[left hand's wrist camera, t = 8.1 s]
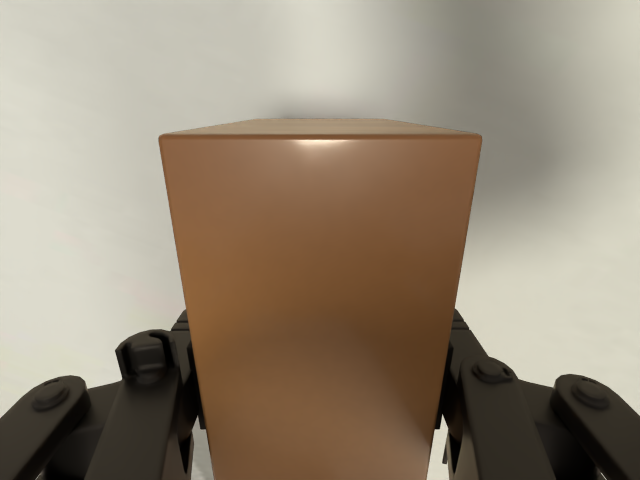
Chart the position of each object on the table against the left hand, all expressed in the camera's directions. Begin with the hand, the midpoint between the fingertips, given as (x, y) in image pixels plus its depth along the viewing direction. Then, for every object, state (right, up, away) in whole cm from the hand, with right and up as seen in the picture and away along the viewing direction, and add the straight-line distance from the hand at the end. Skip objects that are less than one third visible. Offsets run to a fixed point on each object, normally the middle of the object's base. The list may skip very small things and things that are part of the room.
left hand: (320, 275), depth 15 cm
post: (0, -21, +9) cm, 23 cm away
